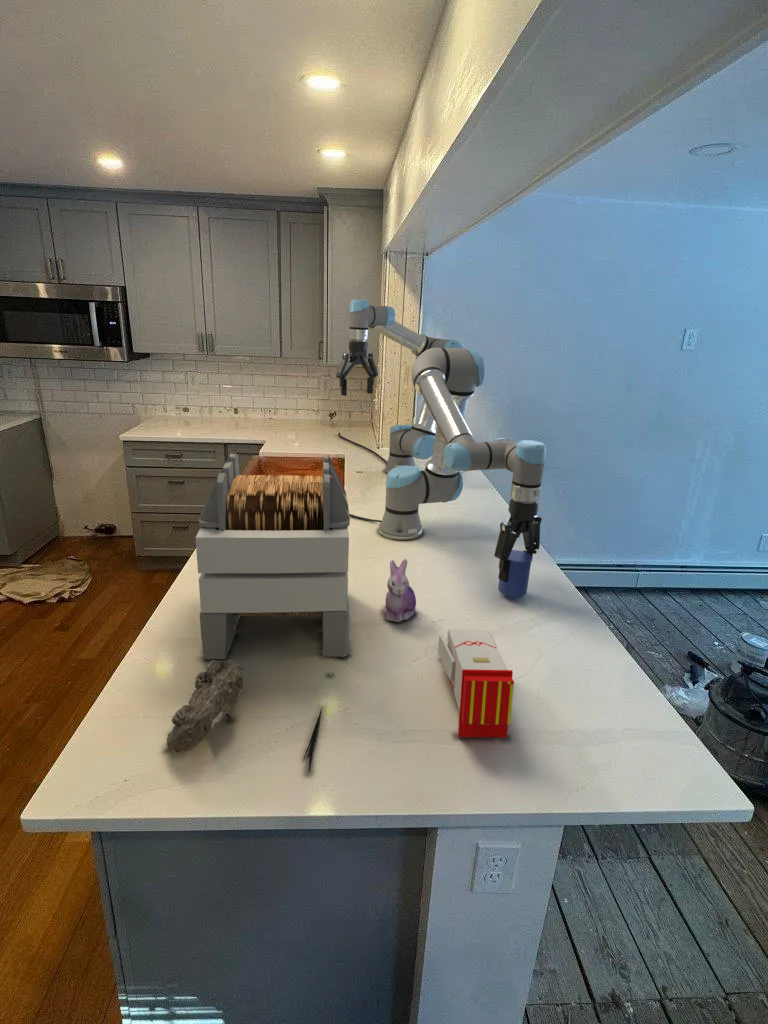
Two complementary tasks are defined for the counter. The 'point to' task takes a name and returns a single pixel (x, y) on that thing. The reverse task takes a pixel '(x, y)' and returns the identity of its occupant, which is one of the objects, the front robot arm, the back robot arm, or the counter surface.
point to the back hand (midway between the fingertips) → (357, 394)
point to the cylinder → (516, 575)
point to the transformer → (273, 554)
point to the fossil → (206, 705)
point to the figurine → (399, 594)
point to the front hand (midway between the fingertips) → (513, 576)
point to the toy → (478, 682)
